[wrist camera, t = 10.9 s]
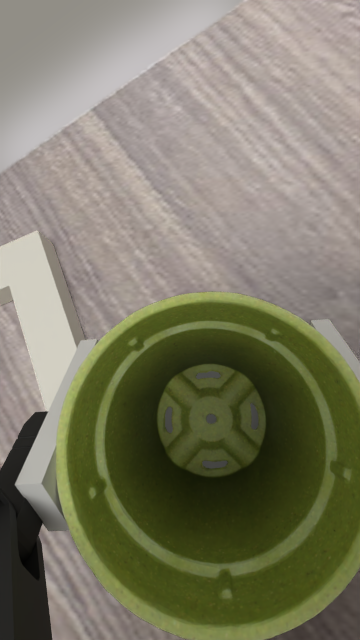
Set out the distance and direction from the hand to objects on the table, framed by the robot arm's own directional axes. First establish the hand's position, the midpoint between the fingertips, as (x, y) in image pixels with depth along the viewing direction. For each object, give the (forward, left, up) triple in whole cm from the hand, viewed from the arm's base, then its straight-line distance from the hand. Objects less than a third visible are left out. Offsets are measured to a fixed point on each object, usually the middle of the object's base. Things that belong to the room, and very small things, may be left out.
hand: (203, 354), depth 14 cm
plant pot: (+1, +3, -4) cm, 5 cm away
